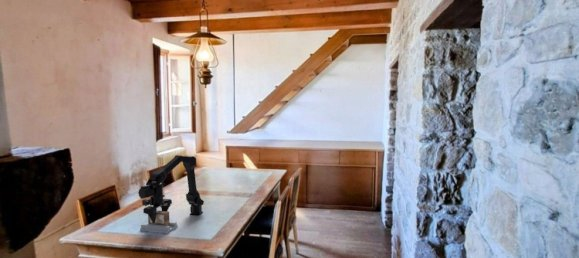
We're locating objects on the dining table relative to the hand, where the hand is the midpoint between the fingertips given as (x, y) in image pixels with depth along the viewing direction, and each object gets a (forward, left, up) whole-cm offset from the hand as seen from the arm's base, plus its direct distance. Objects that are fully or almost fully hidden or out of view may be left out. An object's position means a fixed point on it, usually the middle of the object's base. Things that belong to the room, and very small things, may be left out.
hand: (158, 220), depth 185 cm
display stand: (0, 0, -5) cm, 5 cm away
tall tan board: (0, 0, -4) cm, 4 cm away
